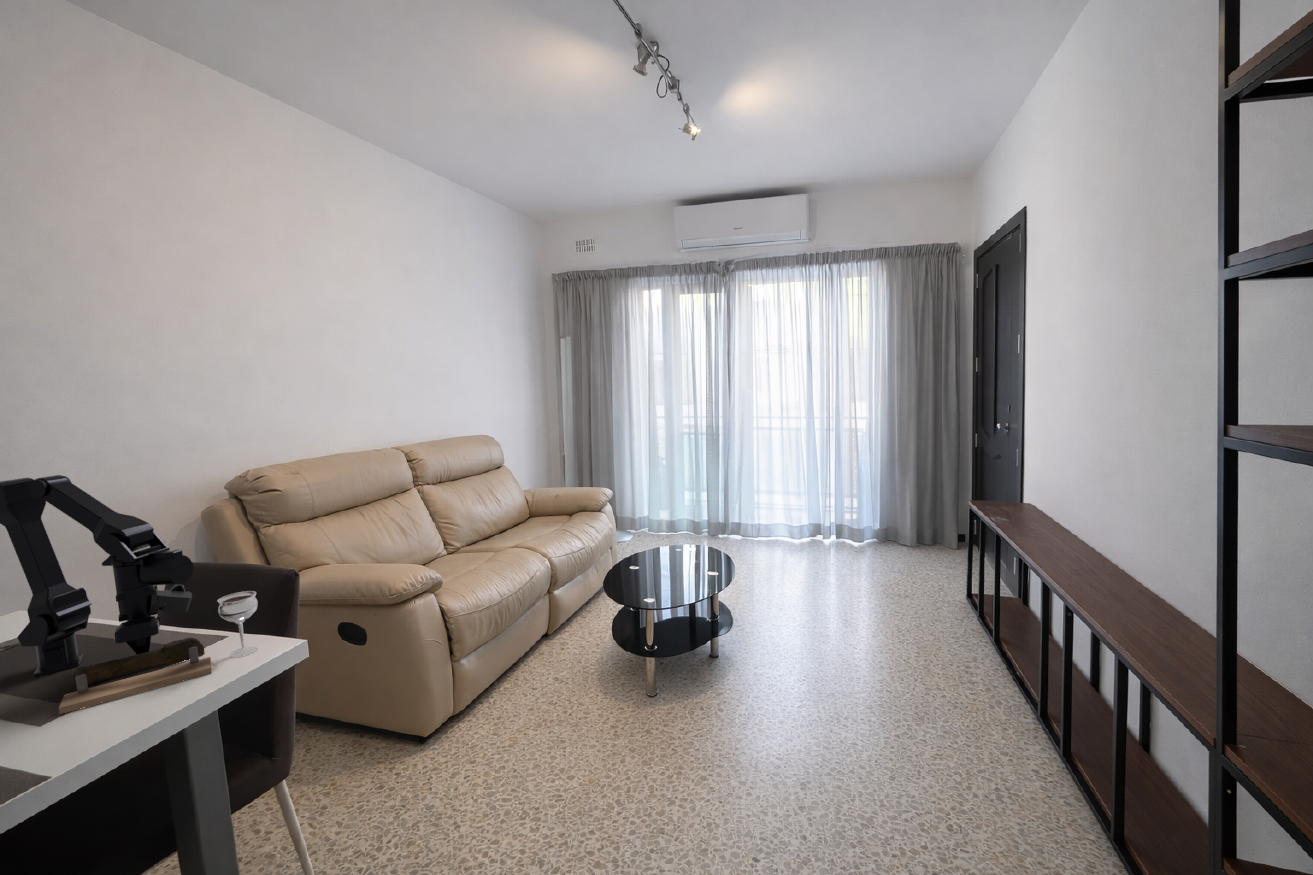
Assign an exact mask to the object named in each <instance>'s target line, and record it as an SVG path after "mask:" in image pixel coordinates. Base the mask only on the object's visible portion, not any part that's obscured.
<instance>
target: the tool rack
mask: <svg viewBox="0 0 1313 875" xmlns="http://www.w3.org/2000/svg"><path fill="white" fill-rule="evenodd" d="M188 650H189V658H190V660H189V661H187V662H183V663H179V664H175V665H174V666H173V665H172V666H169V667H165V668H162V669H158V670H157V669H156V670H154V671H150V672H147V673H143V674H139V675H135V676H131V677H127V678H124V679H123V678H122V679H120V680H119V679H118V680H116V681H111V682H108V683H104V684H99V685H97V686H92V687H88V686H89V685H88V684H87V677H86V674H82V675H78V676H77V675H76V676H75V684H76V685H75V686H76V691H73V692H70V693H66V694H64V695H63V698H62V699H61V701H60V702H61V703H59V706H58V713H59V714H61V713H65V714H68V713H71V712H70V711H72V712H75V711H78V710H77V709H79V710H81V709H80V708H83V707H86V708H89V707H94V706H96V705H95V704H97V705H100V704H99V703H101V702H105V703H107V702H106V701H108V702H111V700H112V701H115V700H119V699H122V697H123V698H126V697H129V696H133V695H138V694H140V693H145V692H148V691H151V689H152V690H154V689H159V688H162V687H166V686H165V685H167V686H170V685H173V684H172V683H174V684H178V683H180V682H184V681H183V680H185V681H188V680H191V679H190V678H192V679H195V678H198V677H202V676H205V675H209V674H212V661H211V660H212V659H211V656H208V657H204V658H199V657H200V656H198V648H197V646H195V647H191V648H189V649H188ZM187 679H188V680H187ZM169 684H170V685H169ZM144 691H145V692H144ZM125 696H126V697H125ZM118 698H119V699H118ZM101 704H102V703H101ZM93 705H94V706H93ZM83 709H84V708H83ZM74 710H75V711H74ZM67 712H68V713H67ZM61 715H62V714H61Z"/></svg>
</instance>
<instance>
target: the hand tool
mask: <svg viewBox="0 0 1313 875" xmlns="http://www.w3.org/2000/svg"><path fill="white" fill-rule="evenodd" d="M195 646H197V648H198V656H199V657H201V656H202V657H203V655H205V646H204V644H202V642H200V640H199V639H198V638H194V637H187V638H183V639H178V640H172V641H171V642H167V643H165V644H164V645H163V647H161V648H157V649H154V650H150V651H149V652H146V653H141V654H134V655H130V656H126V657H122V658H118V659H111V660H108V661H104V662H100V663H96V664H93V665H89V666H87V665H86V666H78V668H77V669H76V676H78V675H82V674H86V677H87V684H88V686H92V685H94V684H96V683H99V682H103V681H107V680H110V679H114V678H117V677H121V676H125V675H128V674H133V673H137V672H141V671H144V670H148V669H152V668H154V667H160V666H169V667H172V666H173V664H174V665H177V664H176V663H178V664H180V663H179V662H181V663H183V662H182V661H184V660H188V661H190V660H189V659H190V658H189V650H188V649H189V648H191V647H195Z"/></svg>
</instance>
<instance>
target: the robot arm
mask: <svg viewBox="0 0 1313 875" xmlns="http://www.w3.org/2000/svg"><path fill="white" fill-rule="evenodd" d="M47 503H48V504H49V505H50V506H53V507H54V508H56V510H59V511H60V512H61V513H63V514H65V515H66V516H67V517H69V518H71V519H72V520H74V522H77V523H78V524H80V525H82V527H84V528H86V529H87V530H89V531H90V532H91V533H92V536H93V541H94V543H95V544H96V545H97V546H98V547H100V548H101V549H102V550H103V551H104V552H105V553H106V554H108V555H109V556H108V557H107V558H106V559H105V560H103V561H102V562H101V566H103V567H112V571H113V578H114V584H115V593H116V594H115V601H116V602H117V604H118V605H117V607H118V613H119V614H118V622H119V623H120V622H121V623H120V624H119V625H118V626H117V627H116V628H115V632H114V640H115V644H122V643H126V644H127V645H128V646H129V648H130V649H131V650H132V651H133V652H134V653H135V655H137V654H141V653H146V652H149V651H151V644H152V637H153V636H156V635H158V634H160V628H161V627H160V626H161V620H162V618H161V617H156V616H157V615H159V614H160V613H161V612H163V611H165V612H177V613H179V614H181V613H184V614H185V613H187V612H188V611H189V607H190V604H191V601H192V598H193V593H192V592H190V591H189V590H188V591H186V590H185V589H186V588H185V586H184V584H185V583H186V582H188V581H189V580H190V579H191V577H192V575H193V572H194V563H193V561H192V560H191V558H190V557H189V556H187V555H184V553H183V549H174V550H171V549H170V547H169V545H168V544H167V543H166V541H165V540H163V539H162V537H160V536H159V534H158V533H157V532H156V530H154V527H153V526H152V525H151V524H150V523H149V522H147V521H145V520H143V519H141V518H139V517H136V516H135V515H128V514H124V513H119V512H117V511H115V510H113V509H112V508H110V507H108V506H107V505H106V504H104V503H103V502H101V501H100V500H99V499H98V498H95V497H94V496H93V495H91V494H89V493H88V492H86V491H84V490H83V489H81V488H80V487H78V486H77V485H75V484H73V482H72V481H71V479H70V478H69V477H68V476H66V475H61V474H55V475H50V476H44V477H37V478H35V479H33V478H31V477H22V478H15V479H9V480H2V481H1V480H0V525H1V526H3V527H5V529H6V531H7V533H8V536H9V539H10V542H11V543H12V545H13V546H12V547H13V549H14V551H15V553H16V556H17V558H18V561H19V563H20V566H21V569H22V571H23V574H24V575H25V578H26V581H27V583H28V585H29V588H30V591H31V593H32V596H31V599H30V602H29V604H28V608H27V611H26V612H27V615H28V619H29V622H28V623H27V625H26V626H25V627H24V628H23V630H22V631H21V632H19V635H17V640H18V642H19V643H20V646H21V647H35V652H36V657H37V664H38V665H37V666H36V669H35V670H34V672H33V676H34V677H37V676H41V675H45V674H49V673H54V672H59V671H62V670H65V669H70V668H74V667H79V666H80V664H81V663H82V660H83V659H84V658H83V657H84V653H78V652H79V651H78V646H77V638H76V632H79V631H81V630H82V631H83V630H84V629H87V626H88V622H89V618H90V615H92V614H91V613H92V609H91V606H92V605H93V603H92V602H91V601H90V599H89V598H88V595H87V594H88V593H87V590H86V589H85V588H84V587H80V588H75V587H74V586H72V585H70V584H68V582H67V580H66V578H65V575H64V572H63V570H62V567H61V565H60V562H59V560H58V557H57V555H56V552H55V550H54V548H53V545H52V542H51V540H50V537H49V535H48V533H47V530H46V528H45V525H44V523H43V521H42V519H43V518H42V517H43V513H44V511H45V508H46V505H47ZM165 585H171V586H172V585H173V586H172V587H171V588H170V589H165V590H159V589H158V586H165Z"/></svg>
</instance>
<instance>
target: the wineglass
mask: <svg viewBox="0 0 1313 875" xmlns="http://www.w3.org/2000/svg"><path fill="white" fill-rule="evenodd" d="M256 595H257V591H254V590H246V591H239V592H234V593H230V594H227V595H224V596H222V597H220V598H218V599H217V601H216V602H218V604H219V606H218V609H217V611H218V612H217V613H218V615H219V616H220V618H222V619H224V620H225V621H227V622H231V623H235V625H237V626H238V631H239V632H238V633H239V639H240V643H241V648H238V649H236V650H234V651H232V652H230V653H229V655H228V656H229V657H230V658H232V659H233V658H242V657H247V656H249V655H251V654H254V653H255V652H257V651H258V649H259V648H258V647H257V646H245V639H244V637H245V636H244V625H243V623H244V622H245V621H246V620H248V619H249V618H251V616H253V615H254V613H255V612H256V611H257V610H258V604H259V603H258V599H257V598H256Z"/></svg>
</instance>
